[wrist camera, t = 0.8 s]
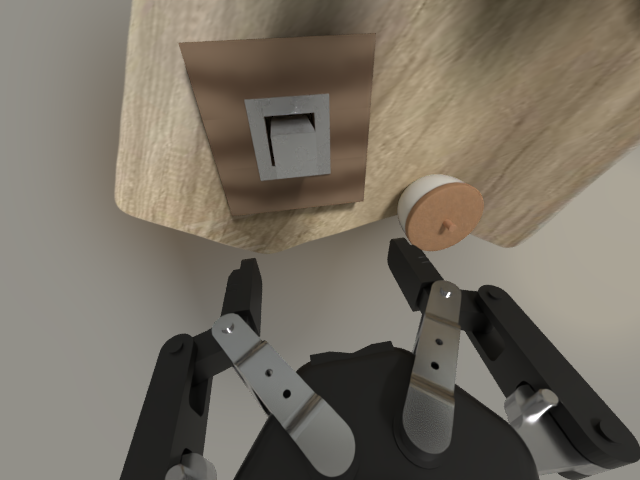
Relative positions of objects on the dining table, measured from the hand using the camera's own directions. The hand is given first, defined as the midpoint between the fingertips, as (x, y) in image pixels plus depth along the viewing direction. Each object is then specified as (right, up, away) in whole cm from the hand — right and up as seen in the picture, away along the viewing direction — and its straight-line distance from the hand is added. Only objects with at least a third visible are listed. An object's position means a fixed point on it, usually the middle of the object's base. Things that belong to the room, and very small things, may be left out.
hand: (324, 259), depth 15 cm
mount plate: (-5, +17, +22) cm, 28 cm away
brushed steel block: (-5, +17, +22) cm, 28 cm away
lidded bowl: (+19, +10, +32) cm, 38 cm away
